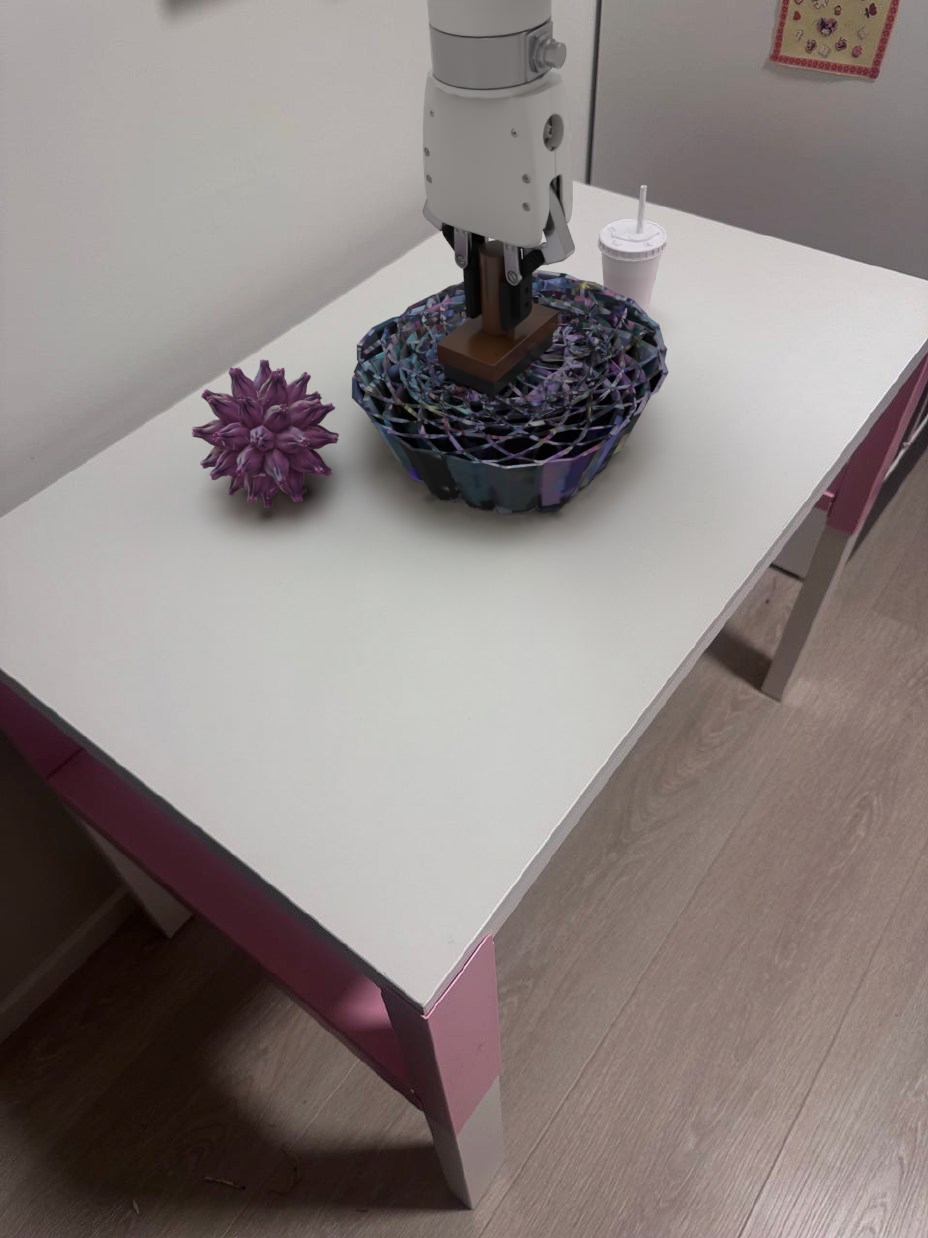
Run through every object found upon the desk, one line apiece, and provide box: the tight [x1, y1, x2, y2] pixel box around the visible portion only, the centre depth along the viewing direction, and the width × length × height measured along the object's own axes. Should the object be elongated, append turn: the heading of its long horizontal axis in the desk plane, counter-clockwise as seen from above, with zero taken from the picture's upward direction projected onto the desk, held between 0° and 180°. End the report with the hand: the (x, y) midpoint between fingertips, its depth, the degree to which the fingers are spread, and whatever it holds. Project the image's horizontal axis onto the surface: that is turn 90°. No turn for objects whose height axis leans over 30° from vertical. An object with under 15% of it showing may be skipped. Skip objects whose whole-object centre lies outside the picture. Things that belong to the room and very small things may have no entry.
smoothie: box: [597, 184, 668, 315], centre depth 83 cm, size 6×6×14 cm
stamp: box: [437, 239, 558, 396], centre depth 68 cm, size 9×6×10 cm, turn 143°
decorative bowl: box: [351, 269, 669, 516], centre depth 76 cm, size 26×28×10 cm
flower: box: [191, 359, 340, 509], centre depth 72 cm, size 12×12×12 cm
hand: (498, 314), depth 69 cm, fingers closed on stamp, 2 cm apart
